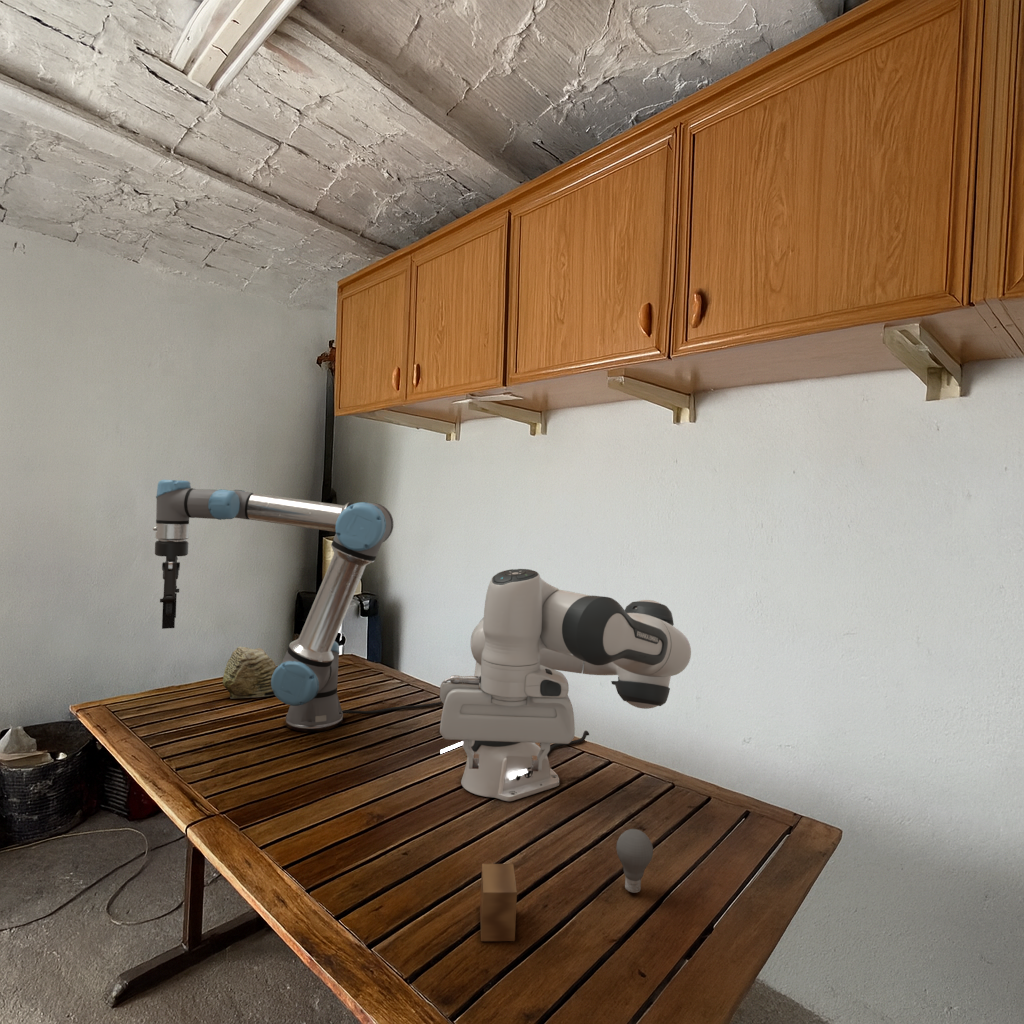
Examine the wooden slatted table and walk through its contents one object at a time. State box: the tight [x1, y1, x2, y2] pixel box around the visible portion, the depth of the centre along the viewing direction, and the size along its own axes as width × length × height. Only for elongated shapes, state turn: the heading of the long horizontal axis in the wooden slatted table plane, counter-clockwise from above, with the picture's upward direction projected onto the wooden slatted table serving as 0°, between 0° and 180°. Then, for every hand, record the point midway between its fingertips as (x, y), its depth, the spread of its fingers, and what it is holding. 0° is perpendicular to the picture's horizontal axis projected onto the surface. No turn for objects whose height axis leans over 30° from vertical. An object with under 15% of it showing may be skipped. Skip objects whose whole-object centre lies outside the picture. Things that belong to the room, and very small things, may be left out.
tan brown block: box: [479, 863, 518, 942], centre depth 96 cm, size 5×7×7 cm
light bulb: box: [615, 828, 654, 894], centre depth 106 cm, size 6×6×10 cm
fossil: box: [222, 646, 277, 699], centre depth 198 cm, size 9×18×15 cm, turn 132°
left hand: (169, 623), depth 162 cm, fingers open, 13 cm apart
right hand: (505, 768), depth 96 cm, fingers open, 8 cm apart
